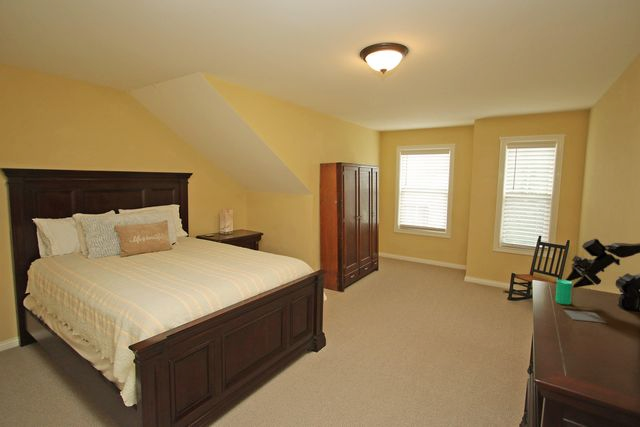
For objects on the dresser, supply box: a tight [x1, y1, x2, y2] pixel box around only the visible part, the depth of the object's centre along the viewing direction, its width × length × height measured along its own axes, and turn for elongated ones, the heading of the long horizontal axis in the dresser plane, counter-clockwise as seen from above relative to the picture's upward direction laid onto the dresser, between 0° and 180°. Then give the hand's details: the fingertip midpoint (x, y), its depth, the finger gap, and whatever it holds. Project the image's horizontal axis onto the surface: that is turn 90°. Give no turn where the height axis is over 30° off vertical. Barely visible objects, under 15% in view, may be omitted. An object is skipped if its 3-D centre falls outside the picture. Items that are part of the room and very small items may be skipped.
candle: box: [554, 278, 573, 305], centre depth 162 cm, size 6×6×12 cm
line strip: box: [561, 305, 599, 312], centre depth 154 cm, size 14×2×1 cm, turn 73°
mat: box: [562, 309, 607, 324], centre depth 146 cm, size 12×10×1 cm
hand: (569, 283), depth 161 cm, fingers open, 9 cm apart
